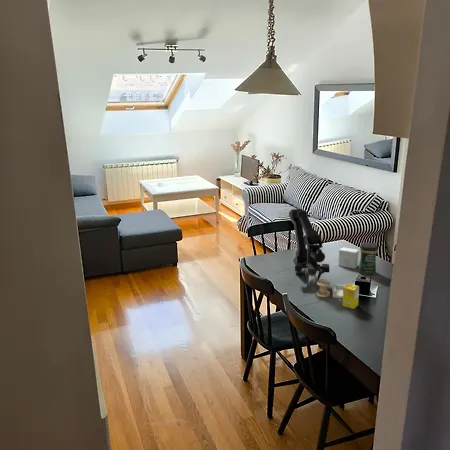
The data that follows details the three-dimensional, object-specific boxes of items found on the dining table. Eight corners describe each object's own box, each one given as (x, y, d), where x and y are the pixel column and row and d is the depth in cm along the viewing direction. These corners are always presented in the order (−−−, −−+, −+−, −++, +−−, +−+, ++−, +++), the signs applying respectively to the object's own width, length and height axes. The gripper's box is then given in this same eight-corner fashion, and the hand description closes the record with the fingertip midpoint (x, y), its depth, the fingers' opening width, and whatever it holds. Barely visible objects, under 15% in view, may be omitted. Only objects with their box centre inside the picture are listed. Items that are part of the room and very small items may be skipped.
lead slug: (307, 282, 242) (308, 271, 240) (315, 282, 242) (315, 271, 240) (307, 285, 239) (308, 274, 236) (315, 285, 238) (315, 274, 236)
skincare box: (358, 265, 263) (359, 249, 259) (354, 269, 258) (355, 252, 254) (341, 262, 268) (342, 246, 265) (338, 265, 263) (338, 249, 260)
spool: (316, 291, 232) (316, 279, 230) (329, 291, 230) (330, 279, 228) (316, 296, 225) (316, 284, 223) (330, 297, 224) (330, 285, 222)
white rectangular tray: (332, 288, 233) (332, 283, 232) (355, 290, 231) (355, 284, 230) (333, 297, 224) (333, 292, 223) (356, 298, 222) (357, 293, 221)
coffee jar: (359, 275, 249) (361, 245, 243) (357, 269, 256) (359, 240, 251) (376, 275, 247) (379, 245, 242) (374, 270, 255) (376, 240, 249)
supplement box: (347, 302, 218) (348, 283, 215) (358, 305, 214) (359, 285, 211) (342, 307, 214) (342, 287, 210) (353, 310, 210) (354, 290, 207)
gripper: (294, 260, 229) (294, 287, 234) (330, 261, 226) (329, 288, 230) (295, 253, 240) (295, 278, 244) (329, 254, 236) (328, 280, 241)
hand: (311, 281), depth 240 cm, fingers open, 6 cm apart
